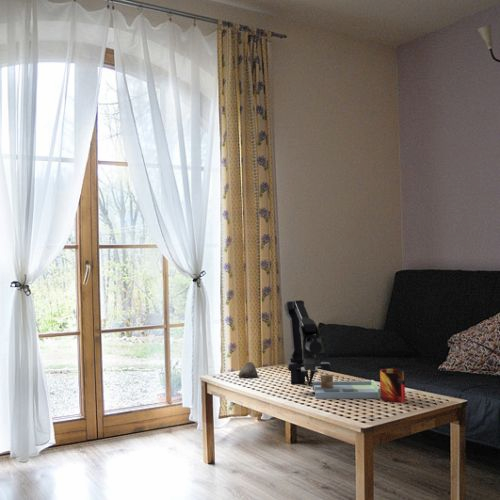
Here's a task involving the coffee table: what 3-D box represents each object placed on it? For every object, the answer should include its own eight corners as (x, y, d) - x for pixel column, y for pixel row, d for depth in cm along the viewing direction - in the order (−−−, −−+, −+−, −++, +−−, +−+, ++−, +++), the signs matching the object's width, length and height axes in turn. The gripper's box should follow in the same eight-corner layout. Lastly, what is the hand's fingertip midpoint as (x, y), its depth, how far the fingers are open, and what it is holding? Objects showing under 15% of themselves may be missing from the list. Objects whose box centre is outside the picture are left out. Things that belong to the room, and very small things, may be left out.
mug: (404, 405, 241) (403, 375, 241) (375, 399, 251) (375, 371, 251) (417, 401, 247) (416, 372, 247) (389, 395, 258) (388, 368, 258)
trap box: (315, 398, 255) (315, 389, 255) (312, 389, 273) (312, 380, 273) (380, 398, 253) (380, 388, 253) (373, 388, 272) (373, 379, 272)
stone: (249, 386, 298) (262, 371, 301) (237, 374, 298) (250, 359, 301) (246, 385, 308) (259, 370, 310) (234, 373, 308) (248, 359, 310)
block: (321, 388, 265) (321, 377, 265) (320, 385, 270) (320, 374, 270) (333, 388, 265) (332, 377, 265) (331, 385, 270) (331, 374, 270)
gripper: (288, 353, 260) (289, 389, 260) (331, 353, 259) (332, 389, 259) (287, 349, 271) (288, 384, 271) (329, 349, 271) (329, 383, 270)
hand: (309, 385), depth 268 cm, fingers closed
